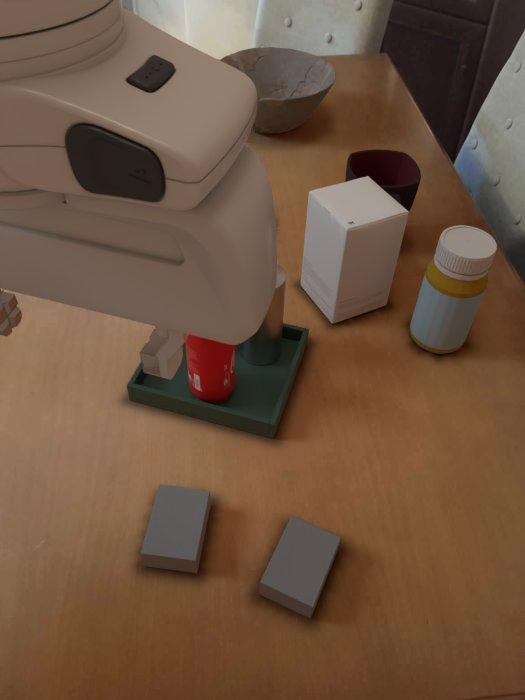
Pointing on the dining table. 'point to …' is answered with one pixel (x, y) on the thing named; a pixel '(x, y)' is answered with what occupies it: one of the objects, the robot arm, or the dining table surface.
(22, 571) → the dining table surface
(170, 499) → the thick grey tile
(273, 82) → the ceramic bowl
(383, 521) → the dining table surface
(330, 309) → the rectangular carton
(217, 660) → the dining table surface
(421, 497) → the dining table surface
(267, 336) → the silver cans
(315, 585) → the grey block right
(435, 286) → the bottle
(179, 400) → the can tray
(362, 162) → the cup
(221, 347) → the beverage can
